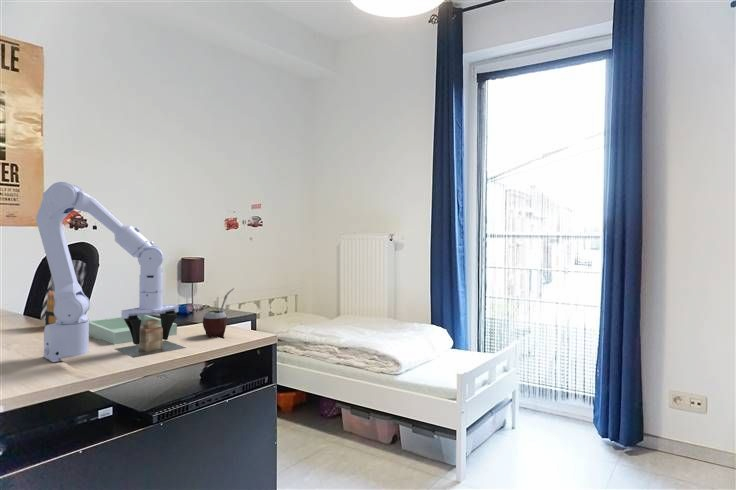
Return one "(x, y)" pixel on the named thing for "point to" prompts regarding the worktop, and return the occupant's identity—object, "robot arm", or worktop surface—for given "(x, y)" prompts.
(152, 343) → the square capped bottle
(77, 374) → the worktop surface
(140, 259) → the robot arm
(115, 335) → the bin
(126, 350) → the base
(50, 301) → the ammunition clip
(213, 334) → the mate gourd
